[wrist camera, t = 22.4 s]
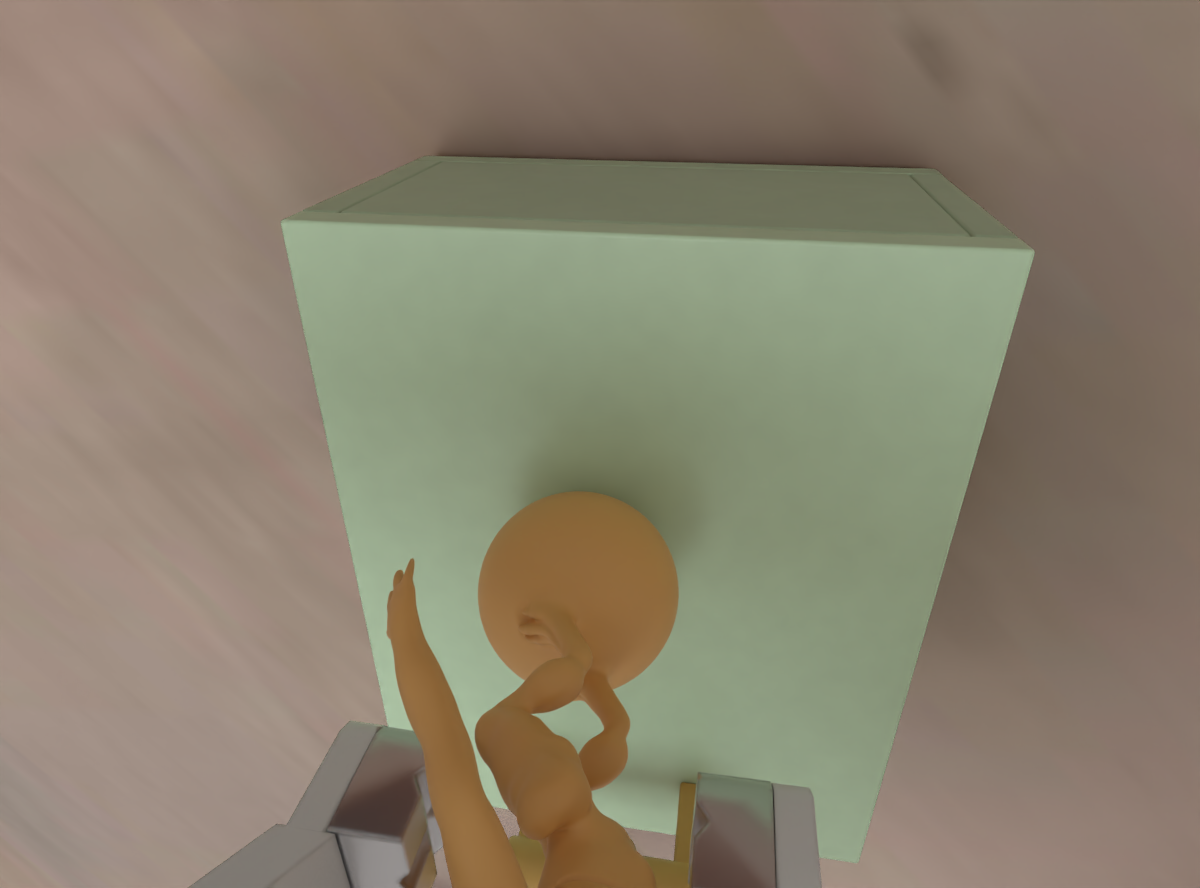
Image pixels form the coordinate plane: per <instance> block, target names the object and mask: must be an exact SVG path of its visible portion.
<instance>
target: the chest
mask: <svg viewBox="0 0 1200 888" xmlns="http://www.w3.org/2000/svg"><path fill="white" fill-rule="evenodd" d="M303 212H328V213H355V214H381V215H408V216H434V217H461V218H487V219H513V220H540V221H566V222H593V223H619V224H646V225H672V226H699V227H725V228H751V229H778V230H804V231H831V232H857V233H884V234H910V235H937V236H963V237H990V238H1016V239H1018V237H1017V236H1016V235H1015V234H1013V233H1012V232H1011V231H1010V230H1009V229H1007V228H1006V227H1005V226H1004V225H1002V224H1001V223H1000V222H999V221H998V220H996V219H995V218H994V217H993V216H991V215H990V214H989V213H988V212H987V211H985V210H984V209H983V208H982V207H980V206H979V205H978V204H977V203H975V202H974V201H973V200H972V199H971V198H969V197H968V196H967V195H966V194H964V193H963V192H962V191H961V190H960V189H958V188H957V187H956V186H955V185H953V184H952V183H951V182H950V181H949V180H947V179H946V178H945V177H944V176H942V174H941V173H939V172H938V171H937V170H936V169H923V168H884V167H845V166H806V165H767V164H727V163H688V162H649V161H610V160H571V159H532V158H493V157H454V156H424V157H422V158H419V159H417V160H415V161H412V162H410V163H408V164H406V165H403V166H401V167H399V168H397V169H395V170H392V171H390V172H388V173H386V174H383V175H381V176H379V177H377V178H374V179H372V180H370V181H368V182H365V183H363V184H361V185H359V186H356V187H354V188H352V189H350V190H347V191H345V192H343V193H341V194H338V195H336V196H334V197H332V198H329V199H327V200H325V201H323V202H320V203H318V204H316V205H314V206H311V207H309V208H307V209H305V210H303Z"/></svg>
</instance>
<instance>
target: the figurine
mask: <svg viewBox="0 0 1200 888" xmlns="http://www.w3.org/2000/svg"><path fill="white" fill-rule="evenodd" d="M414 565H415V561H414V559H413V558H411V559H410V561H409V563H408V565H407V567H406V570H405V573H403V571H402V570H398V571H397V572H396V573H395V575H394V579H393V591H390V593H389V597H388V603H387V613H388V615H387V631H386V633H387V637H388V638H389V639H390V640H391V644H392V649H393V654H394V664H395V673H396V679H397V684H398V688H399V692H400V696H401V699H402V702H403V705H404V708H405V711H406V714H407V717H408V719H409V722H410V724H411V726H412V728H413V730H414V732H415V734H416V736H417V738H418V740H419V742H420V744H421V747H422V750H423V754H424V761H425V769H426V777H427V784H428V790H429V795H430V800H431V804H432V808H433V812H434V815H435V818H436V821H437V823H438V826H439V829H440V832H441V837H442V842H443V848H444V853H445V857H446V862H447V866H448V871H449V875H450V880H451V884H452V888H528V886H527V883H526V881H525V878H524V876H523V873H522V871H521V868H520V865H519V863H518V860H517V858H516V856H515V853H514V851H513V848H512V846H511V844H510V842H509V840H508V837H507V835H506V833H505V831H504V829H503V827H502V825H501V823H500V820H499V818H498V816H497V814H496V812H495V810H494V809H493V807H492V805H491V804H490V802H489V800H488V798H487V797H486V795H485V792H484V790H483V787H482V784H481V780H480V776H479V772H478V767H477V762H476V758H475V753H474V750H473V746H472V743H471V740H470V737H469V735H468V732H467V730H466V727H465V725H464V723H463V720H462V717H461V715H460V712H459V709H458V706H457V703H456V700H455V698H454V695H453V693H452V691H451V688H450V686H449V684H448V682H447V680H446V678H445V676H444V673H443V671H442V669H441V667H440V665H439V663H438V661H437V659H436V657H435V655H434V654H433V652H432V650H431V648H430V647H429V645H428V643H427V641H426V639H425V637H424V634H423V631H422V627H421V623H420V620H419V616H418V612H417V606H416V592H415V586H414V583H413V574H414ZM678 599H679V587H678V577H677V572H676V567H675V564H674V561H673V558H672V555H671V553H670V550H669V548H668V546H667V544H666V542H665V541H664V539H663V537H662V536H661V534H660V533H659V532H658V530H657V529H656V528H655V527H654V525H653V524H652V523H651V522H650V521H649V520H648V519H647V518H646V517H645V516H644V515H642V514H641V513H640V512H639V511H637V510H636V509H634V508H633V507H631V506H630V505H628V504H626V503H624V502H622V501H620V500H618V499H616V498H613V497H610V496H607V495H604V494H600V493H594V492H585V491H572V492H563V493H558V494H554V495H550V496H547V497H544V498H542V499H539V500H537V501H535V502H533V503H531V504H529V505H528V506H526V507H524V508H523V509H522V510H520V511H519V512H517V513H516V514H515V515H514V516H513V517H512V518H510V519H509V520H508V521H507V522H506V523H505V525H504V526H503V527H502V528H501V529H500V531H499V532H498V533H497V535H496V536H495V538H494V539H493V541H492V543H491V544H490V546H489V548H488V550H487V553H486V555H485V557H484V560H483V563H482V567H481V571H480V576H479V582H478V606H479V613H480V618H481V622H482V625H483V628H484V631H485V633H486V636H487V638H488V640H489V642H490V644H491V646H492V647H493V649H494V651H495V652H496V653H497V655H498V656H499V658H500V659H501V660H502V661H503V662H504V663H505V665H506V666H507V667H508V668H509V669H511V670H512V671H513V672H514V673H515V674H516V675H518V676H519V677H520V678H522V679H523V680H525V681H524V682H523V684H522V685H521V686H520V687H519V688H518V689H517V690H516V691H514V692H513V693H512V694H510V695H509V696H508V697H506V698H505V699H503V700H502V701H500V702H499V703H498V704H497V705H496V706H494V707H493V708H492V709H490V710H489V711H487V712H486V713H484V714H483V715H482V716H481V717H480V718H479V720H478V722H477V724H476V727H475V743H476V747H477V750H478V752H479V754H480V756H481V758H482V759H483V761H484V762H485V763H486V764H487V766H488V767H489V768H490V770H491V772H492V774H493V776H494V778H495V781H496V784H497V787H498V789H499V792H500V795H501V797H502V799H503V801H504V802H505V804H506V806H507V807H508V808H509V810H510V811H511V812H512V813H513V814H514V815H515V816H516V817H517V822H518V825H519V828H520V830H521V832H522V833H523V834H524V835H525V836H526V837H528V838H530V839H532V840H538V841H539V843H540V844H541V845H542V849H543V852H544V856H545V863H544V867H543V871H542V874H541V878H540V881H539V884H538V887H537V888H656V881H655V876H654V873H653V871H652V869H651V867H650V865H649V863H648V862H647V861H646V860H645V859H644V857H643V856H642V855H640V854H639V853H638V852H637V851H636V848H635V845H634V843H633V841H632V840H631V839H630V838H629V836H628V834H627V832H626V831H625V830H624V828H623V827H622V826H621V825H620V824H619V823H617V822H616V821H614V820H613V819H611V818H609V817H607V816H605V815H603V814H602V813H601V812H600V811H599V810H598V809H597V807H596V806H595V804H594V802H593V800H592V792H591V791H593V790H597V789H600V788H603V787H605V786H606V785H608V784H609V783H611V782H612V781H613V780H614V779H616V778H617V777H618V776H619V775H620V774H621V772H622V771H623V769H624V768H625V766H626V763H627V760H628V746H627V742H626V737H627V735H628V732H629V730H630V718H629V716H628V714H627V712H626V710H625V708H624V707H623V705H622V704H621V702H620V700H619V699H618V697H617V696H616V694H615V693H614V691H613V689H615V688H618V687H620V686H622V685H624V684H626V683H628V682H629V681H631V680H632V679H634V678H635V677H637V676H638V675H639V674H641V673H642V672H643V671H644V670H645V669H646V668H647V667H648V666H649V665H650V664H651V663H652V662H653V661H654V660H655V659H656V657H657V656H658V655H659V653H660V652H661V650H662V649H663V647H664V646H665V644H666V642H667V640H668V638H669V636H670V634H671V631H672V628H673V626H674V622H675V619H676V614H677V609H678ZM572 701H584V702H586V703H587V705H588V706H589V707H590V708H591V709H592V711H593V712H594V713H595V714H596V715H597V716H598V717H599V718H600V720H601V722H602V725H603V727H604V730H603V731H602V732H601V733H600V734H598V735H597V736H595V737H593V738H592V739H590V740H589V741H588V742H587V743H586V744H585V745H584V746H583V748H582V749H581V751H580V752H579V754H578V753H577V751H576V749H575V747H574V746H573V745H572V743H571V742H570V741H569V740H567V739H566V738H564V737H562V736H559V735H556V734H554V733H553V732H552V731H551V730H550V729H549V728H548V727H547V726H546V725H545V724H544V722H543V721H542V720H541V719H540V718H538V717H536V716H534V715H531V714H537V713H546V712H551V711H554V710H557V709H559V708H561V707H563V706H565V705H567V704H569V703H571V702H572Z"/></svg>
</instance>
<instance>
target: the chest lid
mask: <svg viewBox="0 0 1200 888" xmlns="http://www.w3.org/2000/svg"><path fill="white" fill-rule="evenodd" d="M281 227H282V232H283V237H284V241H285V246H286V251H287V255H288V260H289V265H290V269H291V274H292V279H293V284H294V288H295V293H296V298H297V302H298V307H299V312H300V316H301V321H302V326H303V330H304V335H305V340H306V344H307V349H308V354H309V358H310V363H311V368H312V373H313V377H314V382H315V387H316V391H317V396H318V401H319V405H320V410H321V415H322V419H323V424H324V429H325V433H326V438H327V443H328V447H329V452H330V457H331V462H332V466H333V471H334V476H335V480H336V485H337V490H338V494H339V499H340V504H341V508H342V513H343V518H344V522H345V527H346V532H347V536H348V541H349V546H350V551H351V555H352V560H353V565H354V569H355V574H356V579H357V583H358V588H359V593H360V597H361V602H362V607H363V611H364V616H365V621H366V625H367V630H368V635H369V640H370V644H371V649H372V654H373V658H374V663H375V668H376V672H377V677H378V682H379V686H380V691H381V696H382V700H383V705H384V710H385V714H386V719H387V724H388V727H394V728H400V729H406V730H412V731H414V730H413V728H412V726H411V724H410V722H409V719H408V717H407V714H406V711H405V708H404V705H403V702H402V699H401V696H400V692H399V688H398V684H397V679H396V673H395V664H394V654H393V649H392V644H391V640H390V639H389V638H388V637H387V633H386V631H387V615H388V613H387V603H388V597H389V593H390V591H393V579H394V575H395V573H396V572H397V571H398V570H402V571H403V573H405V570H406V567H407V565H408V563H409V561H410V559H411V558H413V559H414V561H415V565H414V574H413V583H414V586H415V592H416V606H417V612H418V616H419V620H420V623H421V627H422V631H423V634H424V637H425V639H426V641H427V643H428V645H429V647H430V648H431V650H432V652H433V654H434V655H435V657H436V659H437V661H438V663H439V665H440V667H441V669H442V671H443V673H444V676H445V678H446V680H447V682H448V684H449V686H450V688H451V691H452V693H453V695H454V698H455V700H456V703H457V706H458V709H459V712H460V715H461V717H462V720H463V723H464V725H465V727H466V730H467V732H468V735H469V737H470V740H471V743H472V746H473V750H474V753H475V758H476V762H477V767H478V772H479V776H480V780H481V784H482V787H483V790H484V792H485V795H486V797H487V798H488V800H489V802H490V804H491V805H492V807H497V808H504V809H509V808H508V807H507V806H506V804H505V802H504V801H503V799H502V797H501V795H500V792H499V789H498V787H497V784H496V781H495V778H494V776H493V774H492V772H491V770H490V768H489V767H488V766H487V764H486V763H485V762H484V761H483V759H482V758H481V756H480V754H479V752H478V750H477V747H476V743H475V727H476V724H477V722H478V720H479V718H480V717H481V716H482V715H483V714H484V713H486V712H487V711H489V710H490V709H492V708H493V707H494V706H496V705H497V704H498V703H499V702H500V701H502V700H503V699H505V698H506V697H508V696H509V695H510V694H512V693H513V692H514V691H516V690H517V689H518V688H519V687H520V686H521V685H522V684H523V682H524V681H525V680H523V679H522V678H520V677H519V676H518V675H516V674H515V673H514V672H513V671H512V670H511V669H509V668H508V667H507V666H506V665H505V663H504V662H503V661H502V660H501V659H500V658H499V656H498V655H497V653H496V652H495V651H494V649H493V647H492V646H491V644H490V642H489V640H488V638H487V636H486V633H485V631H484V628H483V625H482V622H481V618H480V613H479V606H478V582H479V576H480V571H481V567H482V563H483V560H484V557H485V555H486V553H487V550H488V548H489V546H490V544H491V543H492V541H493V539H494V538H495V536H496V535H497V533H498V532H499V531H500V529H501V528H502V527H503V526H504V525H505V523H506V522H507V521H508V520H509V519H510V518H512V517H513V516H514V515H515V514H516V513H517V512H519V511H520V510H522V509H523V508H524V507H526V506H528V505H529V504H531V503H533V502H535V501H537V500H539V499H542V498H544V497H547V496H550V495H554V494H558V493H563V492H572V491H585V492H594V493H600V494H604V495H607V496H610V497H613V498H616V499H618V500H620V501H622V502H624V503H626V504H628V505H630V506H631V507H633V508H634V509H636V510H637V511H639V512H640V513H641V514H642V515H644V516H645V517H646V518H647V519H648V520H649V521H650V522H651V523H652V524H653V525H654V527H655V528H656V529H657V530H658V532H659V533H660V534H661V536H662V537H663V539H664V541H665V542H666V544H667V546H668V548H669V550H670V553H671V555H672V558H673V561H674V564H675V567H676V572H677V577H678V587H679V599H678V609H677V614H676V619H675V622H674V626H673V628H672V631H671V634H670V636H669V638H668V640H667V642H666V644H665V646H664V647H663V649H662V650H661V652H660V653H659V655H658V656H657V657H656V659H655V660H654V661H653V662H652V663H651V664H650V665H649V666H648V667H647V668H646V669H645V670H644V671H643V672H642V673H641V674H639V675H638V676H637V677H635V678H634V679H632V680H631V681H629V682H628V683H626V684H624V685H622V686H620V687H618V688H615V689H613V691H614V693H615V694H616V696H617V697H618V699H619V700H620V702H621V704H622V705H623V707H624V708H625V710H626V712H627V714H628V716H629V718H630V730H629V732H628V735H627V737H626V742H627V746H628V760H627V763H626V766H625V768H624V769H623V771H622V772H621V774H620V775H619V776H618V777H617V778H616V779H614V780H613V781H612V782H611V783H609V784H608V785H606V786H605V787H603V788H600V789H597V790H593V791H591V792H592V800H593V802H594V804H595V806H596V807H597V809H598V810H599V811H600V812H601V813H602V814H603V815H605V816H607V817H609V818H611V819H613V820H614V821H616V822H617V823H619V824H620V825H621V826H622V827H626V828H633V829H639V830H646V831H652V832H658V833H665V834H671V835H676V840H675V852H674V861H672V860H666V859H659V858H653V857H647V856H643V857H644V859H645V860H646V861H647V862H648V863H649V865H650V867H651V869H652V871H653V873H654V876H655V881H656V888H689V884H688V871H689V857H690V842H691V832H692V822H693V809H694V804H695V790H696V781H697V773H698V772H703V773H711V774H719V775H726V776H734V777H742V778H750V779H757V780H765V781H770V782H771V783H777V784H785V785H793V786H801V787H809V788H810V790H811V792H812V794H813V796H814V805H815V817H816V828H817V839H818V850H819V857H820V858H826V859H833V860H839V861H845V862H852V863H858V862H859V859H860V856H861V852H862V849H863V845H864V842H865V838H866V835H867V831H868V828H869V824H870V821H871V818H872V814H873V811H874V807H875V804H876V800H877V797H878V793H879V790H880V786H881V783H882V780H883V776H884V773H885V769H886V766H887V762H888V759H889V755H890V752H891V748H892V745H893V742H894V738H895V735H896V731H897V728H898V724H899V721H900V717H901V714H902V710H903V707H904V704H905V700H906V697H907V693H908V690H909V686H910V683H911V679H912V676H913V672H914V669H915V666H916V662H917V659H918V655H919V652H920V648H921V645H922V641H923V638H924V634H925V631H926V628H927V624H928V621H929V617H930V614H931V610H932V607H933V603H934V600H935V596H936V593H937V589H938V586H939V583H940V579H941V576H942V572H943V569H944V565H945V562H946V558H947V555H948V551H949V548H950V545H951V541H952V538H953V534H954V531H955V527H956V524H957V520H958V517H959V513H960V510H961V507H962V503H963V500H964V496H965V493H966V489H967V486H968V482H969V479H970V475H971V472H972V469H973V465H974V462H975V458H976V455H977V451H978V448H979V444H980V441H981V437H982V434H983V431H984V427H985V424H986V420H987V417H988V413H989V410H990V406H991V403H992V399H993V396H994V393H995V389H996V386H997V382H998V379H999V375H1000V372H1001V368H1002V365H1003V361H1004V358H1005V355H1006V351H1007V348H1008V344H1009V341H1010V337H1011V334H1012V330H1013V327H1014V323H1015V320H1016V316H1017V313H1018V310H1019V306H1020V303H1021V299H1022V296H1023V292H1024V289H1025V285H1026V282H1027V278H1028V275H1029V272H1030V268H1031V265H1032V261H1033V258H1034V254H1035V252H1034V250H1033V249H1032V248H1031V247H1030V246H1029V245H1027V244H1026V243H1025V242H1024V241H1023V240H1021V239H1016V238H990V237H963V236H937V235H910V234H884V233H857V232H831V231H804V230H778V229H751V228H725V227H699V226H672V225H646V224H619V223H593V222H566V221H540V220H513V219H487V218H461V217H434V216H408V215H381V214H355V213H328V212H302V211H301V212H299V213H296V214H294V215H292V216H290V217H288V218H285V219H283V220H282V221H281ZM531 715H534V716H536V717H538V718H540V719H541V720H542V721H543V722H544V724H545V725H546V726H547V727H548V728H549V729H550V730H551V731H552V732H553V733H554V734H556V735H559V736H562V737H564V738H566V739H567V740H569V741H570V742H571V743H572V745H573V746H574V747H575V749H576V751H577V753H578V754H579V752H580V751H581V749H582V748H583V746H584V745H585V744H586V743H587V742H588V741H589V740H590V739H592V738H593V737H595V736H597V735H598V734H600V733H601V732H602V731H603V730H604V727H603V725H602V722H601V720H600V718H599V717H598V716H597V715H596V714H595V713H594V712H593V711H592V709H591V708H590V707H589V706H588V705H587V703H586V702H584V701H572V702H571V703H569V704H567V705H565V706H563V707H561V708H559V709H557V710H554V711H551V712H546V713H537V714H531ZM509 842H510V844H511V846H512V848H513V851H514V853H515V856H516V858H517V860H518V863H519V865H520V868H521V871H522V873H523V876H524V878H525V881H526V883H527V886H528V888H537V887H538V884H539V881H540V878H541V874H542V871H543V867H544V863H545V856H544V852H543V849H542V845H541V844H540V843H539V841H538V840H532V839H530V838H528V837H526V836H525V835H524V834H523V833H522V832H521V830H520V832H519V835H518V836H516V835H515V836H511V837H510V839H509Z"/></svg>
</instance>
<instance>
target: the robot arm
mask: <svg viewBox="0 0 1200 888" xmlns="http://www.w3.org/2000/svg"><path fill="white" fill-rule="evenodd" d="M442 847H443V842H442V837H441V832H440V829H439V826H438V823H437V821H436V818H435V815H434V812H433V808H432V804H431V800H430V795H429V790H428V784H427V777H426V769H425V761H424V754H423V750H422V747H421V744H420V742H419V740H418V738H417V736H416V734H415V732H414V731H412V730H406V729H400V728H394V727H387V726H383V725H377V724H370V723H363V722H356V721H349V722H348V723H347V724H346V725H345V726H344V727H343V728H342V729H341V730H340V731H339V733H338V735H337V737H336V738H335V740H334V742H333V744H332V745H331V747H330V749H329V751H328V753H327V754H326V756H325V758H324V760H323V761H322V763H321V765H320V767H319V768H318V770H317V772H316V774H315V776H314V777H313V779H312V781H311V783H310V784H309V786H308V788H307V790H306V791H305V793H304V795H303V797H302V798H301V800H300V802H299V804H298V806H297V807H296V809H295V811H294V813H293V814H292V816H291V818H290V820H289V821H288V823H287V825H282V824H275V825H274V826H273V827H271V828H270V829H269V830H267V831H266V832H264V833H263V834H262V835H260V836H259V837H257V838H256V839H255V840H253V841H252V842H250V843H249V844H248V845H246V846H245V847H244V848H242V849H241V850H239V851H238V852H237V853H235V854H234V855H232V856H231V857H230V858H228V859H227V860H226V861H224V862H223V863H221V864H220V865H219V866H217V867H216V868H214V869H213V870H212V871H210V872H209V873H208V874H206V875H205V876H203V877H202V878H201V879H199V880H198V881H196V882H195V883H194V884H192V885H191V886H189V887H188V888H432V886H433V883H434V880H435V877H436V875H437V872H436V866H435V860H434V854H435V853H436V852H437V851H438V850H439V849H441V848H442ZM688 884H689V888H822V884H821V873H820V861H819V850H818V839H817V828H816V817H815V805H814V796H813V794H812V792H811V790H810V788H809V787H801V786H793V785H785V784H777V783H771V782H770V781H765V780H757V779H750V778H742V777H734V776H726V775H719V774H711V773H703V772H698V773H697V781H696V790H695V804H694V809H693V822H692V832H691V842H690V857H689V871H688Z"/></svg>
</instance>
